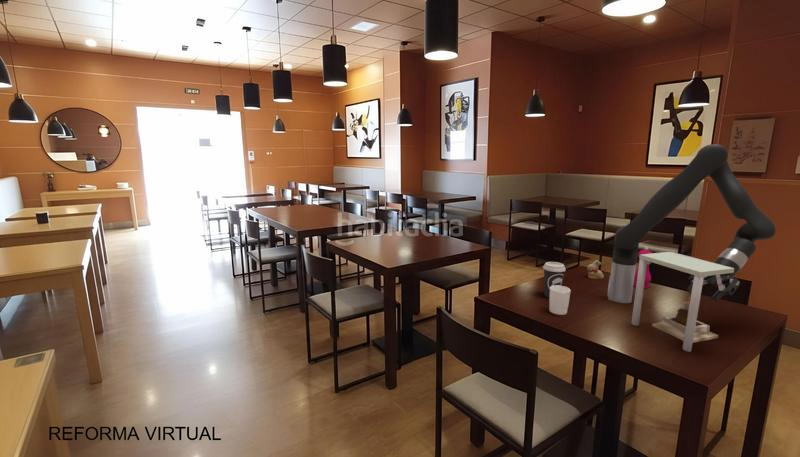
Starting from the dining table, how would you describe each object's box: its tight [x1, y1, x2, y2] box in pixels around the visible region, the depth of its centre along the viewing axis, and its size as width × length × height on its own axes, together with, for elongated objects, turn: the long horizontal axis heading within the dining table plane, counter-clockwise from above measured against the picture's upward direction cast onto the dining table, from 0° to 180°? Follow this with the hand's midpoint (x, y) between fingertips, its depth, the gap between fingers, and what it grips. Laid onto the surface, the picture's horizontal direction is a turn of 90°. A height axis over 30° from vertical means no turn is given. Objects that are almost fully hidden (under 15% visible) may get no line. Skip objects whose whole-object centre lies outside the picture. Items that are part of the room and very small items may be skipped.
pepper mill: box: [633, 246, 653, 289], centre depth 186 cm, size 7×7×20 cm
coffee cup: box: [542, 261, 567, 298], centre depth 174 cm, size 10×10×15 cm
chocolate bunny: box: [586, 259, 605, 280], centre depth 200 cm, size 6×8×10 cm
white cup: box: [548, 285, 572, 316], centre depth 157 cm, size 8×8×10 cm
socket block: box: [651, 315, 719, 343], centre depth 140 cm, size 14×14×4 cm
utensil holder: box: [675, 295, 691, 326], centre depth 139 cm, size 6×6×12 cm
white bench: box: [631, 251, 734, 353], centre depth 136 cm, size 15×22×28 cm
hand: (700, 295), depth 139 cm, fingers open, 8 cm apart
